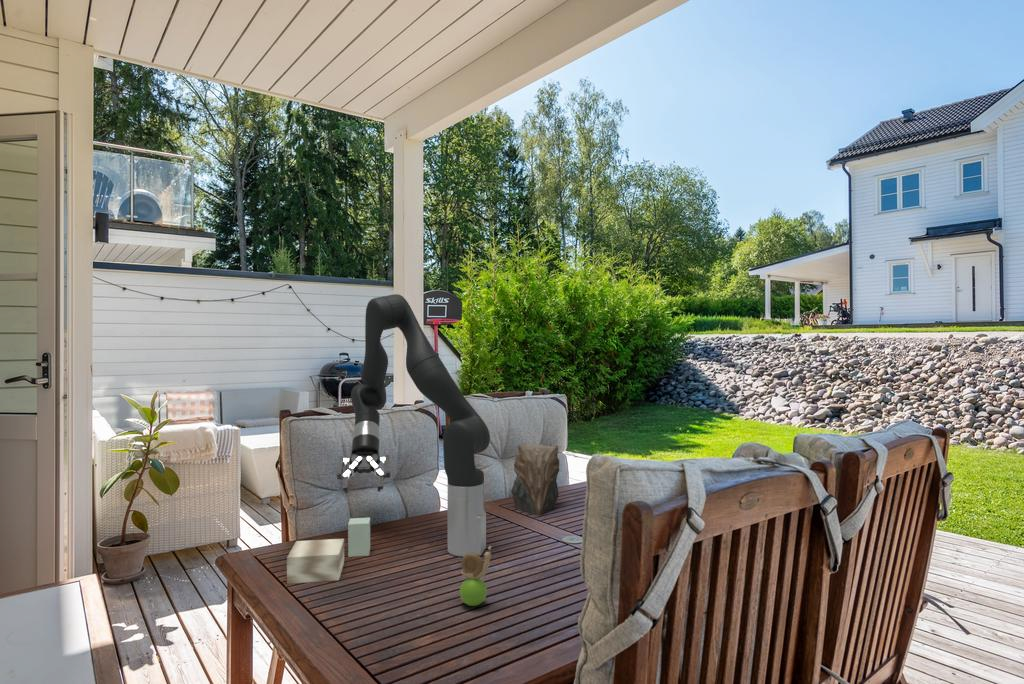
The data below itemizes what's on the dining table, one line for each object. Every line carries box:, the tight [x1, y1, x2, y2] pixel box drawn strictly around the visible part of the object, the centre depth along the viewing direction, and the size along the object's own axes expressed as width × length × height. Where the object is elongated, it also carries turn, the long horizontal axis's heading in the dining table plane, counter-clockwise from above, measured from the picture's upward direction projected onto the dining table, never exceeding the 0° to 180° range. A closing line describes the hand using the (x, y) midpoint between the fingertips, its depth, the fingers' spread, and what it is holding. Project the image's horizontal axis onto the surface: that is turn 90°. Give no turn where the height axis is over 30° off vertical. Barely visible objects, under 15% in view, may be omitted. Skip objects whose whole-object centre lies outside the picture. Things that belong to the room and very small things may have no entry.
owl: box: [510, 443, 560, 517], centre depth 191 cm, size 13×13×20 cm
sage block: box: [347, 517, 371, 558], centre depth 151 cm, size 5×5×8 cm
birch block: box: [286, 538, 345, 585], centre depth 138 cm, size 11×11×6 cm
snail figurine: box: [459, 545, 492, 607], centre depth 121 cm, size 5×6×12 cm
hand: (362, 490), depth 161 cm, fingers open, 8 cm apart
